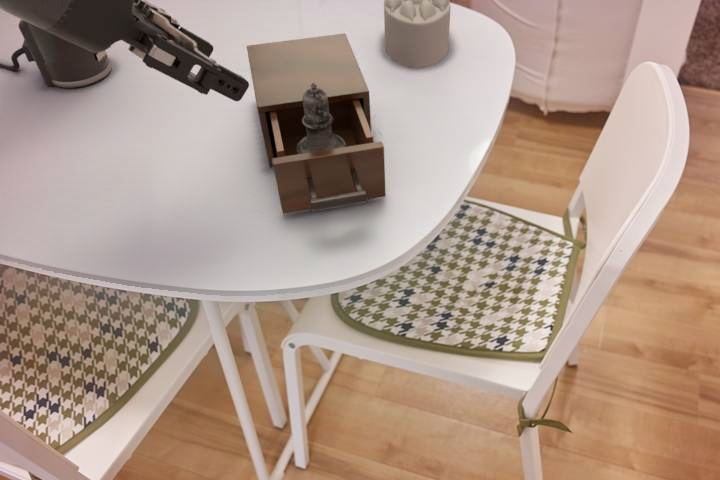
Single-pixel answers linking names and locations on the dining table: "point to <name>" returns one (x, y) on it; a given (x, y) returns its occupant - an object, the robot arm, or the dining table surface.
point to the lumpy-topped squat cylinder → (417, 31)
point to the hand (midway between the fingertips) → (225, 72)
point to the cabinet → (303, 77)
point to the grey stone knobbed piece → (318, 123)
